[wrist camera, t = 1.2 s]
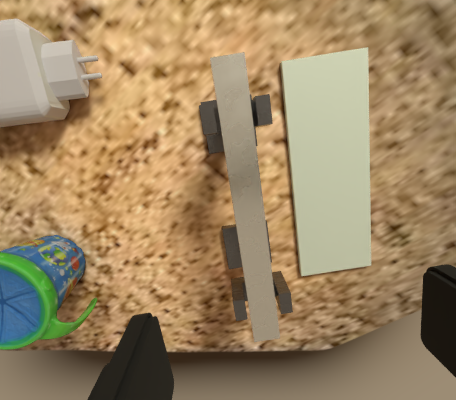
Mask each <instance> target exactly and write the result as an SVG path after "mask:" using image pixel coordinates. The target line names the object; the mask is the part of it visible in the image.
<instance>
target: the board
mask: <svg viewBox="0 0 456 400" xmlns="http://www.w3.org/2000/svg"><path fill="white" fill-rule="evenodd" d="M280 68H281V78H282V89H283V100H284V110H285V121H286V131H287V142H288V153H289V163H290V174H291V185H292V195H293V206H294V217H295V227H296V238H297V249H298V259H299V270H300V274H301V276H307V275H313V274H320V273H326V272H332V271H339V270H345V269H352V268H358V267H365V266H371V219H370V151H369V83H368V47H367V48H361V49H355V50H349V51H343V52H336V53H330V54H324V55H318V56H312V57H306V58H300V59H293V60H287V61H282V62H281V63H280Z"/></svg>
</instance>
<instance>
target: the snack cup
mask: <svg viewBox="0 0 456 400" xmlns="http://www.w3.org/2000/svg"><path fill="white" fill-rule="evenodd" d="M84 269H85V258H84V256H83V251H82V249H81V248H79V247H78V246H77V245H76V244H75V243H74V242H72V241H70V240H68V239H66V238H63V237H61V236H58V235H54V236H45V237H41V238H38V239H35V240H32V241H29V242H26V243H23V244H20V245H17V246H14V247H12V248H9V249H5V250H3V251H1V252H0V349H3V350H6V349H18V348H21V347H24V346H27V345H29V344H31V343H33V342H34V341H36V340H39V339H54V338H58V337H62V336H64V335H67V334H69V333H71V332H72V331H74V330H75V329H77V328H78V327H79V326H80V325H81V324H82V323H83V322H84V320H85V319H86V318H87V317H88V315H89V314H90V313H91V311H92V310H93V308H94V306H95V305H96V302H97V298H94V299H93V300H92V301H91V303H90V304H89V306H88V307H87V309H86V310H85V311H84V313H83V314H82V315H81V316H80V317H79V318H78V319H77V320H76V322H66V323H64V322H60V321H59V320H58V319H57V310H58V309H59V308H60V307H61V305H62V304H63V302H64V301H65V300H66V298H67V297H68V296H69V294H70V293H71V291H72V290H73V289H74V287H75V285H76V284H77V282H78V281H79V280H80V278H81V277H82V275H83V273H84Z"/></svg>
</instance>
